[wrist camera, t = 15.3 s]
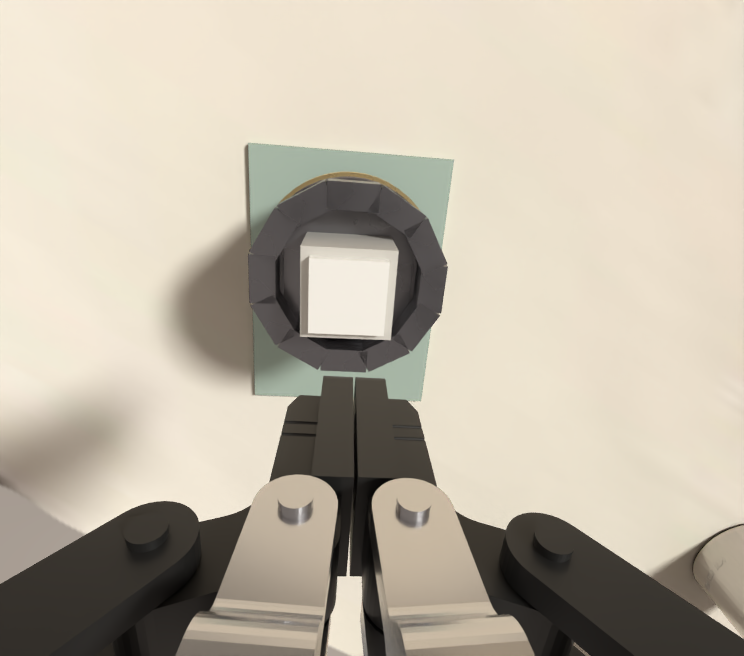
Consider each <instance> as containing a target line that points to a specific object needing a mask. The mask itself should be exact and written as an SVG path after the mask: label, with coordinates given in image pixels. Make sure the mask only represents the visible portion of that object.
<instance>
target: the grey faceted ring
mask: <svg viewBox="0 0 744 656" xmlns="http://www.w3.org/2000/svg"><path fill="white" fill-rule="evenodd" d="M307 232H320V233H337V234H355V235H372V236H390V237H392V239H393V241H394V243H395V245H396V247H397V249H398V251H399V254H398V265H397V276H396V287H395V298H394V309H393V320H392V332H391V340H373V339H347V338H321V337H300V246H301V243H302V241H303V239H304V237H305V235H306V233H307ZM249 252H250V253H249V254H248V265H249V299H250V303H252V304H251V305H250V306H251V307H252V309H253V310H254V312H255V314H256V315H257V317H258V318H259V320H260V321H261V323H262V325H263V326H264V328H265V329H266V331H267V333H268V334H269V336H270V337H271V339H272V341H273V342H274V344H275V345H277V344H278V348H280V349H282V350H283V351H285V352H287V353H289V354H290V355H292V356H294V357H296V358H298V359H299V360H301V361H303V362H305V363H306V364H308V365H310V366H312V367H314V368H315V369H317V370H318V369H319V367H320V366H321V367H320V371H341V372H365V373H366V368H367V370H368V372H370V371H372V370H374V369H376V368H379V367H381V366H383V365H385V364H387V363H390V362H392V361H394V360H396V359H399V358H401V357H403V356H405V355H407V354H410V352H409V350H410V351H413V350H414V349H415V347H416V346H417V345H418V343H419V342H420V341H421V339H422V338H423V337H424V336H425V334H426V333H427V332H428V330H429V329H430V328H431V327H432V325H433V324H434V323H435V321H436V320H437V319H438V318H439V316H440V315H439V313H441V310H442V303H443V296H444V289H445V282H446V275H447V268H448V266H447V265H446V264H447V262H446V259H445V257H444V255H443V252H442V250H441V248H440V245H439V243H438V240H437V238H436V236H435V233H434V231H433V229H432V226H431V224H430V221H429V219H428V218H427V217H426V215H424V214H423V213H422V212H421V211H420V210H419V208H418V207H417V206H416V205H415V203H414V202H413V201H412V200H411V199H410V198H409V197H408V196H407V195H406V194H404V193H403V192H402V191H401V190H400V189H398V188H397V187H395V186H394V185H392V184H390V183H389V182H387V181H385V180H383V179H380V178H378V177H376V176H372V175H369V174H365V173H359V172H343V171H341V172H333V173H327V174H324V175H320V176H317V177H315V178H312V179H310V180H308V181H306V182H304V183H302V184H301V185H299V186H298V187H296V188H295V189H293V190H292V191H291V192H290V193H289V194H287V195H286V196H285V197H284V198H283V199H282V200H281V201H280V202H279V203H278V205H277V206H276V207H275V208H274V210H273V211H272V213H271V214H270V216H269V218H268V220H267V221H266V223H265V225H264V227H263V228H262V230H261V232H260V233H259V235H258V237H257V238H256V240H255V242H254V244H253V245H252V247H251V249H250V250H249Z"/></svg>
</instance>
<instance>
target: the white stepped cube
mask: <svg viewBox="0 0 744 656" xmlns="http://www.w3.org/2000/svg"><path fill="white" fill-rule="evenodd" d="M398 254H399V251H398V249H397V247H396V245H395V243H394V241H393V239H392V237H390V236H372V235H355V234H337V233H320V232H307V233H306V235H305V237H304V239H303V241H302V243H301V246H300V337H321V338H347V339H373V340H391V332H392V320H393V309H394V298H395V287H396V276H397V265H398Z"/></svg>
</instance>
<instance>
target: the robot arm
mask: <svg viewBox="0 0 744 656" xmlns="http://www.w3.org/2000/svg"><path fill="white" fill-rule="evenodd" d="M349 535H350V576H362V605H361V615H360V622H361V633H362V643H363V654H364V656H585V655H584V654H583V653H582V652H580V651H579V650H578V649H577V648H576V647H575V646H573V644H574V642H575V643H576V644H578V645H579V646H580V647H581V648H582V649H583V650H585V651H586V652H587V653H588V654H589V655H590V656H744V525H742V526H738V527H735V528H732V529H729V530H727V531H725V532H723V533H721V534H719V535H718V536H716V537H714V538H713V539H712V540H711V541H709V542H708V543H707V544H706V545H705V546H704V547H703V548H702V549H701V550H700V552H699V554H698V555H697V557H696V559H695V562H694V565H693V573H694V577H695V579H696V580H697V582H698V583H699V584H700V585H701V587H702V588H703V589H704V590H705V591H706V593H707V594H708V595H709V596H710V598H711V599H712V600H713V601H714V603H715V604H716V605H717V606H718V608H719V609H720V610H721V611H722V612H723V614H724V615H725V616H726V618H727V619H728V620H729V621H730V623H731V624H732V625H733V626H734V627H735V629H736V630H737V631H738V632H739V634H740V635H741V636H742V637H743V638H741V637H740V636H738V635H737V634H735V633H734V632H732V631H731V630H729V629H728V628H726V627H725V626H723V625H722V624H720V623H719V622H717V621H716V620H714V619H712V618H711V617H709V616H708V615H706V614H705V613H703V612H702V611H700V610H699V609H697V608H696V607H694V606H693V605H691V604H690V603H688V602H687V601H685V600H684V599H682V598H681V597H679V596H678V595H676V594H675V593H673V592H672V591H670V590H669V589H667V588H666V587H664V586H663V585H661V584H660V583H658V582H657V581H655V580H654V579H652V578H651V577H649V576H648V575H646V574H645V573H643V572H642V571H640V570H639V569H637V568H636V567H634V566H633V565H631V564H630V563H628V562H627V561H625V560H624V559H622V558H621V557H619V556H618V555H616V554H615V553H613V552H612V551H610V550H609V549H607V548H605V547H604V546H602V545H601V544H599V543H598V542H596V541H595V540H593V539H592V538H590V537H589V536H587V535H586V534H584V533H583V532H581V531H580V530H578V529H577V528H575V527H574V526H572V525H571V524H569V523H567V522H566V521H563V520H561V519H559V518H557V517H554V516H551V515H547V514H543V513H525V514H521V515H518V516H516V517H515V518H513V519H512V520H511V521H510V522H509V524H508V526H507V529H506V530H503V529H500V528H497V527H493V526H490V525H486V524H483V523H479V522H476V521H473V520H471V519H469V518H466V517H464V516H463V515H461V514H459V513H458V512H456V511H455V509H454V507H453V504H452V502H451V500H450V499H449V498H448V496H447V495H446V494H445V493H444V492H443V491H442V490H440V489H439V488H438V487H437V485H436V481H435V477H434V473H433V470H432V466H431V462H430V458H429V454H428V450H427V446H426V442H425V441H424V434H423V431H422V429H421V423H420V419H419V415H418V412H417V411H416V410H415V409H414V407H413V406H412V405H411V404H410V403H409V402H408V401H407V400H403V399H388V393H387V386H386V380H385V378H365V377H355V386H354V400H353V377H342V376H323V382H322V390H321V396H312V395H299V396H298V397H297V398H296V399H295V400H294V401H293V402H292V403H291V404H290V405H289V406H288V409H287V413H286V417H285V421H284V425H283V429H282V434H281V437H280V441H279V445H278V449H277V453H276V457H275V461H274V465H273V469H272V473H271V477H270V481H269V483H268V484H266V485H265V486H264V487H263V488H261V489H260V490H259V492H258V493H257V494H256V496H255V498H254V500H253V503H252V505H250V506H249V507H247V508H245V509H244V510H242V511H239V512H237V513H234V514H231V515H228V516H224V517H220V518H215V519H211V520H207V521H202V522H199V521H198V518H197V516H196V514H195V513H194V512H193V511H192V510H191V509H190V508H189V507H187V506H185V505H183V504H180V503H176V502H169V501H161V502H152V503H147V504H144V505H140V506H138V507H135V508H133V509H130V510H128V511H126V512H125V513H123V514H121V515H119V516H117V517H116V518H114V519H112V520H111V521H109V522H107V523H105V524H104V525H102V526H100V527H98V528H97V529H95V530H93V531H91V532H90V533H88V534H86V535H85V536H83V537H81V538H79V539H78V540H76V541H74V542H73V543H71V544H69V545H67V546H66V547H64V548H62V549H60V550H59V551H57V552H55V553H53V554H52V555H50V556H48V557H46V558H45V559H43V560H41V561H39V562H38V563H36V564H34V565H33V566H31V567H29V568H27V569H26V570H24V571H22V572H20V573H19V574H17V575H15V576H13V577H12V578H10V579H8V580H7V581H5V582H3V583H1V584H0V656H326V655H327V647H328V639H329V630H330V622H331V613H332V611H333V609H334V606H335V601H336V589H337V576H346V573H347V560H348V547H349Z"/></svg>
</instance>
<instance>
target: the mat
mask: <svg viewBox="0 0 744 656" xmlns="http://www.w3.org/2000/svg"><path fill="white" fill-rule="evenodd" d="M248 151H249V189H250V226H251V247H252V245H253V244H254V242H255V240H256V238H257V237H258V235H259V233H260V232H261V230H262V228H263V227H264V225H265V223H266V221H267V220H268V218H269V216H270V214H271V213H272V211H273V210H274V208H275V207H276V206H277V205H278V203H279V202H280V201H281V200H282V199H283V198H284V197H285V196H286V195H287V194H289V193H290V192H291V191H292V190H293V189H295V188H296V187H298V186H299V185H301V184H302V183H304V182H306V181H308V180H310V179H312V178H315V177H317V176H320V175H324V174H327V173H333V172H341V171H343V172H359V173H365V174H369V175H372V176H376V177H378V178H380V179H383V180H385V181H387V182H389V183H390V184H392V185H394V186H395V187H397V188H398V189H400V190H401V191H402V192H403V193H404V194H406V195H407V196H408V197H409V198H410V199H411V200H412V201H413V202H414V203H415V205H416V206H417V207H418V208H419V210H420V211H421V212H422V213H423V214H424V215H426V217H427V218H428V219H429V221H430V224H431V226H432V229H433V231H434V233H435V236H436V238H437V240H438V243H439V245H440V248H441V250H442V243H443V236H444V229H445V222H446V214H447V207H448V200H449V192H450V185H451V178H452V170H453V163H454V160H451V159H439V158H426V157H414V156H402V155H390V154H378V153H366V152H353V151H341V150H329V149H317V148H305V147H293V146H281V145H268V144H256V143H248ZM430 331H431V328H430V329H429V330H428V332H427V333H426V334H425V336H424V337H423V338H422V339H421V341H420V342H419V343H418V345H417V346H416V347H415V349H414V350H413V351H410V350H409V352H410V354H407V355H405V356H403V357H401V358H399V359H396V360H394V361H392V362H390V363H387V364H385V365H383V366H381V367H379V368H376V369H374V370H372V371H370V372H368V370H367V368H366V373H365V372H341V371H320V367H321V366H320V367H319V369H318V370H317V369H315V368H314V367H312V366H310V365H308V364H306V363H305V362H303V361H301V360H299V359H298V358H296V357H294V356H292V355H290V354H289V353H287V352H285V351H283V350H282V349H280V348H278V344H277V345H275V344H274V342H273V341H272V339H271V337H270V336H269V334H268V333H267V331H266V329H265V328H264V326H263V325H262V323H261V321H260V320H259V318H258V317H257V315H256V314H255V312H254V310H253V339H254V376H255V395H271V396H297V397H298V396H299V395H312V396H321V390H322V382H323V376H342V377H353V399H354V386H355V377H365V378H385V380H386V386H387V393H388V399H403V400H407V401H421V397H422V390H423V382H424V375H425V368H426V361H427V353H428V346H429V339H430Z"/></svg>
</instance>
